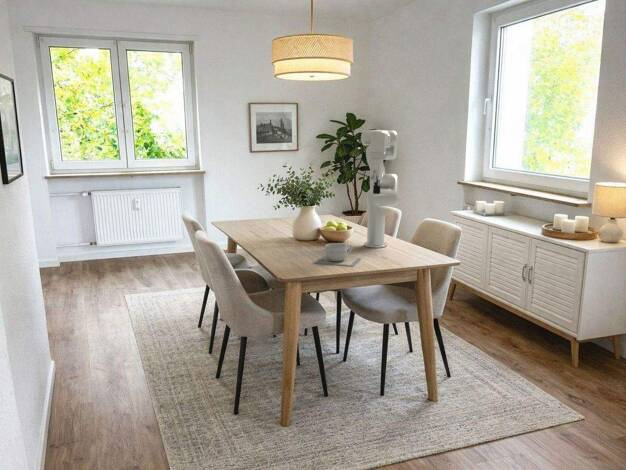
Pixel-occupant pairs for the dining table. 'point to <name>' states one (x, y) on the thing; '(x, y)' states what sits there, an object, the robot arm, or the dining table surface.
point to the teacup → (337, 251)
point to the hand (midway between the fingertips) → (376, 193)
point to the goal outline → (337, 264)
